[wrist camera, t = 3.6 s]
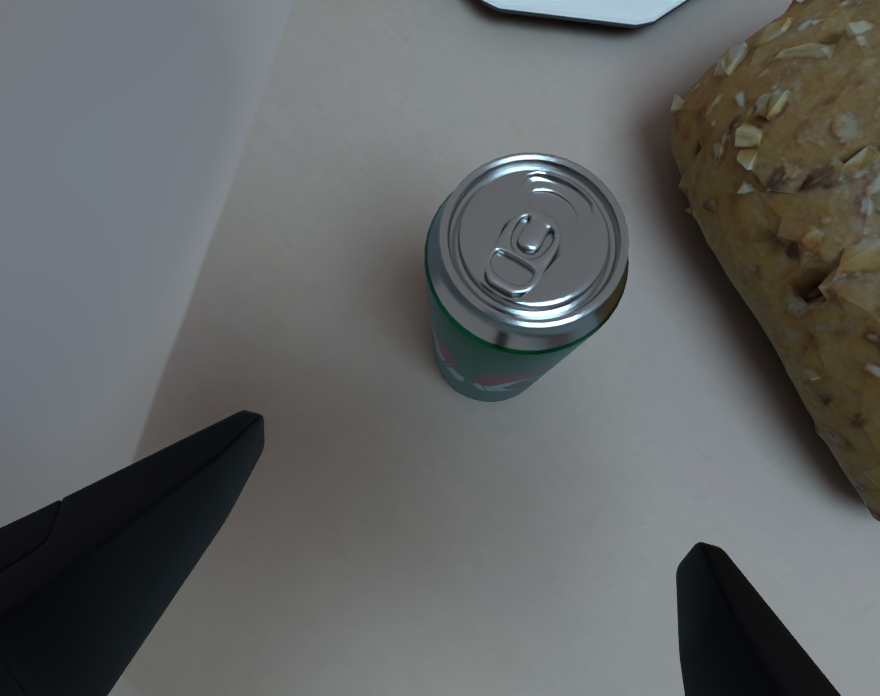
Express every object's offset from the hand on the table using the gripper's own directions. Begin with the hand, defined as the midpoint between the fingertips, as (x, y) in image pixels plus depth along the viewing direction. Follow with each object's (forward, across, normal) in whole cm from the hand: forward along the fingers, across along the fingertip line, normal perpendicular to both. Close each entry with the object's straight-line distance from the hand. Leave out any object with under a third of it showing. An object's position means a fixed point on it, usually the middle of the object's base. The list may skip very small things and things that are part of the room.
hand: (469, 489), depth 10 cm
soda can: (+13, 0, +5) cm, 13 cm away
